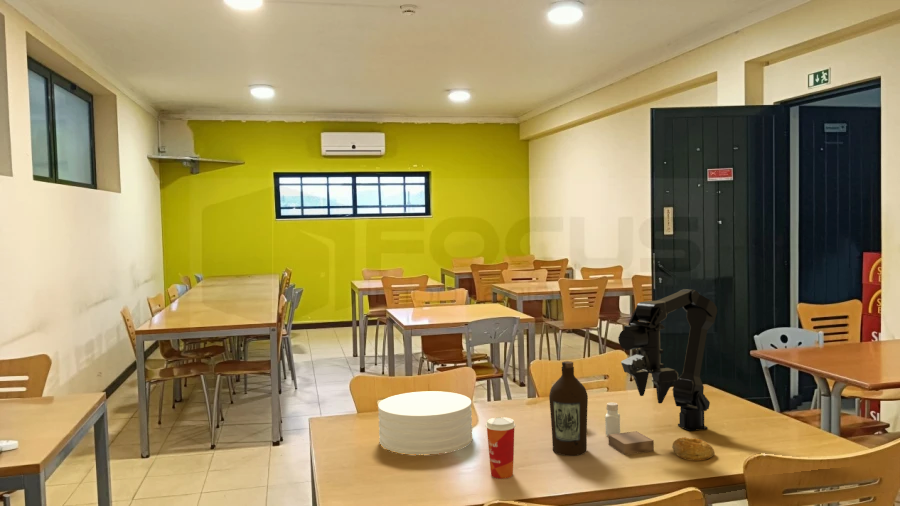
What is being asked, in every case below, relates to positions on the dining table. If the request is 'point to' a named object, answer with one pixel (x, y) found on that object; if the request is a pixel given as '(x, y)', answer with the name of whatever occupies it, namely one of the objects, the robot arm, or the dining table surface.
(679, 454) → the bagel
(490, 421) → the paper cup
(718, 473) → the dining table surface
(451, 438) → the plate stack
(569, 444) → the olive oil
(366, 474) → the dining table surface
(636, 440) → the walnut block
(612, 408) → the pepper shaker
